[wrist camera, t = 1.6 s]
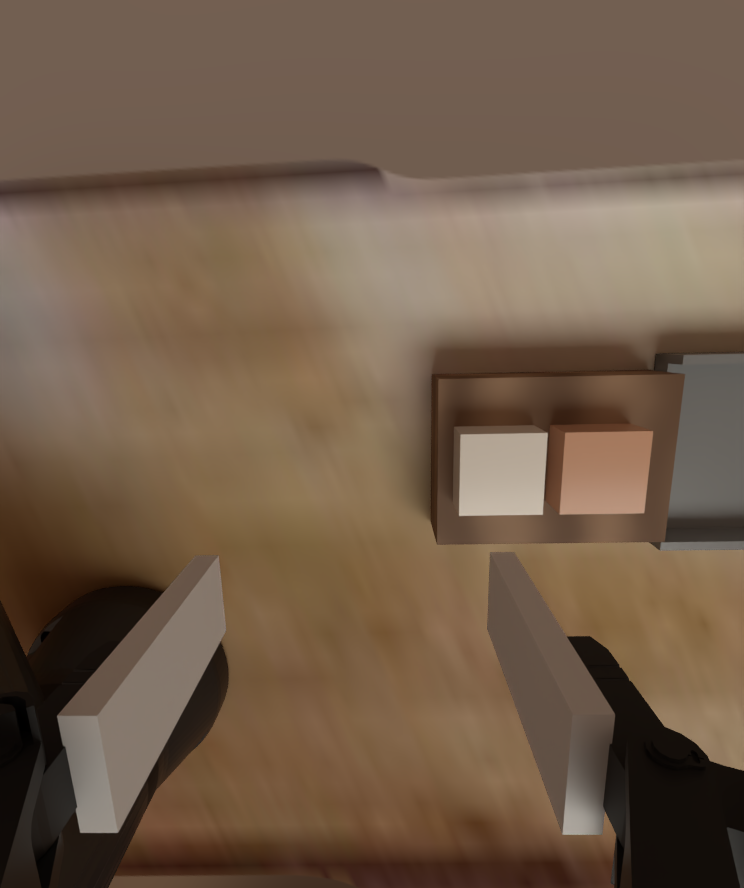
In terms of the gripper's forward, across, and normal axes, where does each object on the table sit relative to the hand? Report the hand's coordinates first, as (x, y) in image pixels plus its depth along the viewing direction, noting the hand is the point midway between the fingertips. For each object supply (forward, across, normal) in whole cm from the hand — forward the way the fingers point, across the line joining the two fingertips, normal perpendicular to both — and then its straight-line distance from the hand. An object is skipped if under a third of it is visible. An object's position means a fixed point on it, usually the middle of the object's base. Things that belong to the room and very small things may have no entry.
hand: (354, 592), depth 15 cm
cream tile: (+15, -8, 0) cm, 17 cm away
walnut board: (+19, -12, 0) cm, 23 cm away
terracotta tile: (+15, -14, 0) cm, 21 cm away
